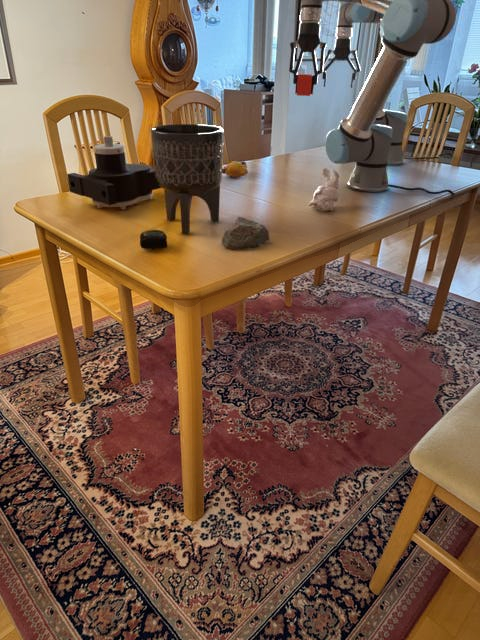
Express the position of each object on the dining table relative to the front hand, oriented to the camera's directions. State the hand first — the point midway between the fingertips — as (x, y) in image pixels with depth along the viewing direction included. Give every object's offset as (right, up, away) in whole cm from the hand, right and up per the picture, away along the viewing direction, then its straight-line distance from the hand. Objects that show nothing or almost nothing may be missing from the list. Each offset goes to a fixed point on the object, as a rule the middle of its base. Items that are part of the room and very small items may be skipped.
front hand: (304, 93), depth 176 cm
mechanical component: (-63, -48, -21) cm, 82 cm away
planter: (-40, -60, -42) cm, 83 cm away
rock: (-23, -68, -55) cm, 90 cm away
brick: (0, 0, 0) cm, 0 cm away
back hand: (+25, +31, +55) cm, 68 cm away
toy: (-27, -27, +15) cm, 41 cm away
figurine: (+3, -51, -25) cm, 57 cm away
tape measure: (-47, -70, -59) cm, 102 cm away
